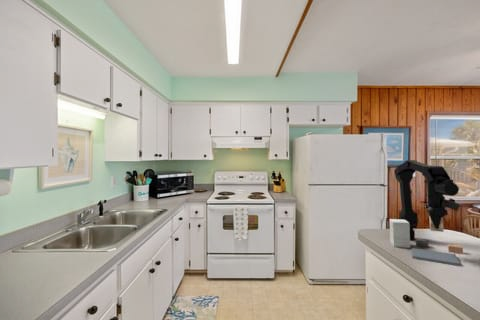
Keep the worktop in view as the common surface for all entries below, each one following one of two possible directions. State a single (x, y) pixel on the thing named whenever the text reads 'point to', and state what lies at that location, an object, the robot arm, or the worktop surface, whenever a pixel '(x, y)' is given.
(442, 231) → the beech block
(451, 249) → the terracotta tile
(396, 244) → the supplement box
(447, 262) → the slate board
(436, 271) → the worktop surface
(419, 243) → the smooth grey pebble
